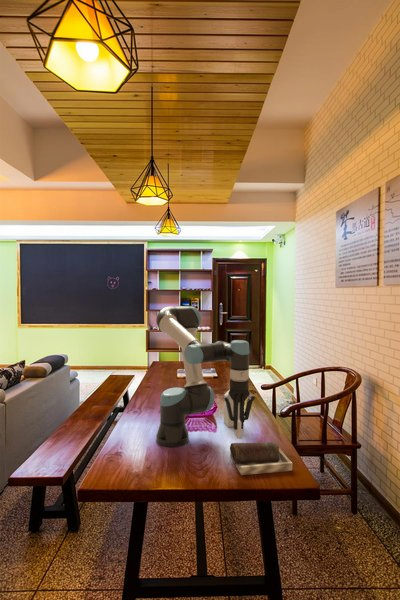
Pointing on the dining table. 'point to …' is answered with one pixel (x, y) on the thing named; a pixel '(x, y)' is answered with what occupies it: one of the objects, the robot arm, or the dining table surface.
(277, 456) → the candle
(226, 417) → the milk carton
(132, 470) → the dining table surface
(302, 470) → the dining table surface
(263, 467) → the tray
